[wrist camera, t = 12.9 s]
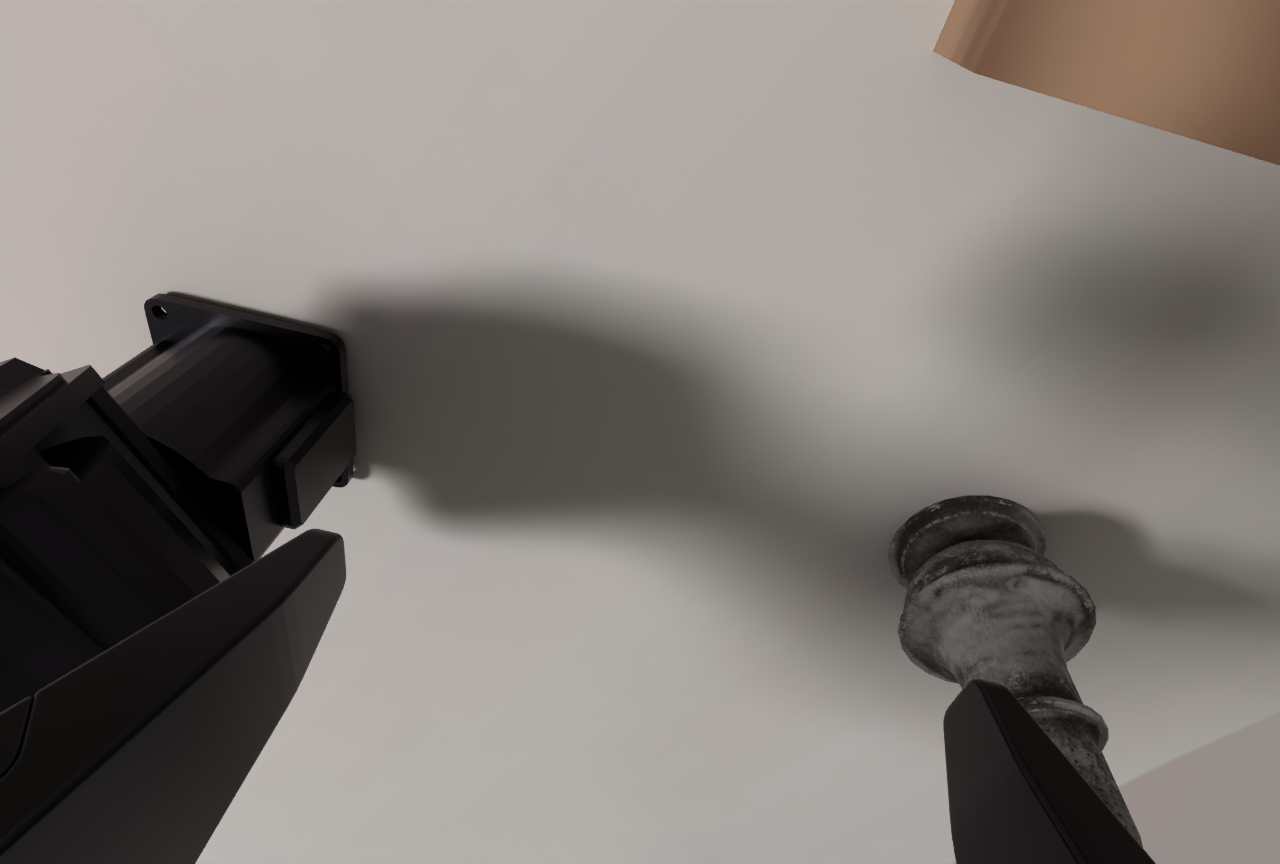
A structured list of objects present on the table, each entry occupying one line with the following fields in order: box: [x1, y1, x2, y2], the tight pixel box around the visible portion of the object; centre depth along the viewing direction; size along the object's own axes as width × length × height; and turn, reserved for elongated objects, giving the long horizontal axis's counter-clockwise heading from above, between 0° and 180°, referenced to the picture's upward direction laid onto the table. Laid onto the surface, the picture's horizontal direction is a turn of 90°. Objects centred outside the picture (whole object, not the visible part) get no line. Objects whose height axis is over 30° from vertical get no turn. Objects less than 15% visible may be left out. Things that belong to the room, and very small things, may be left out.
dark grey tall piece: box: [889, 496, 1143, 848], centre depth 20 cm, size 6×6×12 cm
